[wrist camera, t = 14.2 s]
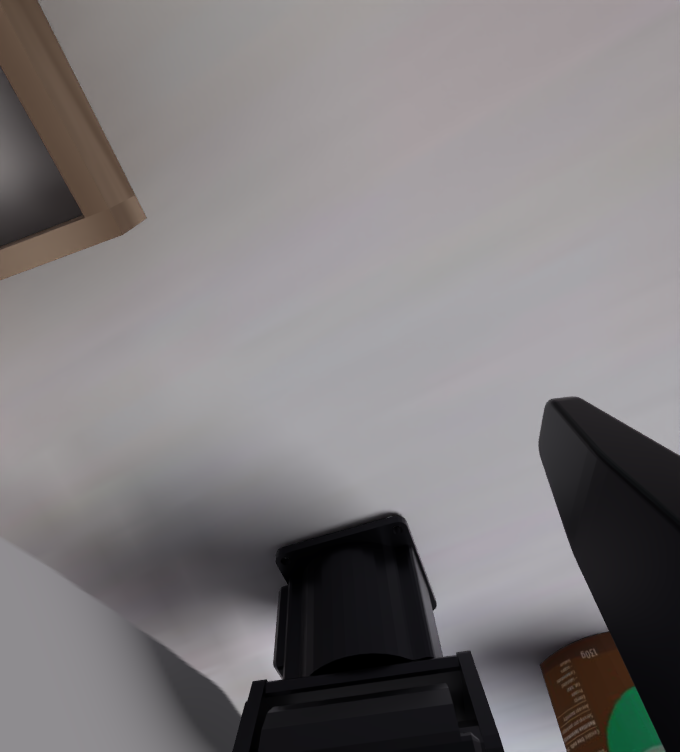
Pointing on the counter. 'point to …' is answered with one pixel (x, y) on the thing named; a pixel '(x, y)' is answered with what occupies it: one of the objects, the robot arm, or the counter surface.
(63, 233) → the walnut collar
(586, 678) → the food container
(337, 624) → the robot arm
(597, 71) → the counter surface
